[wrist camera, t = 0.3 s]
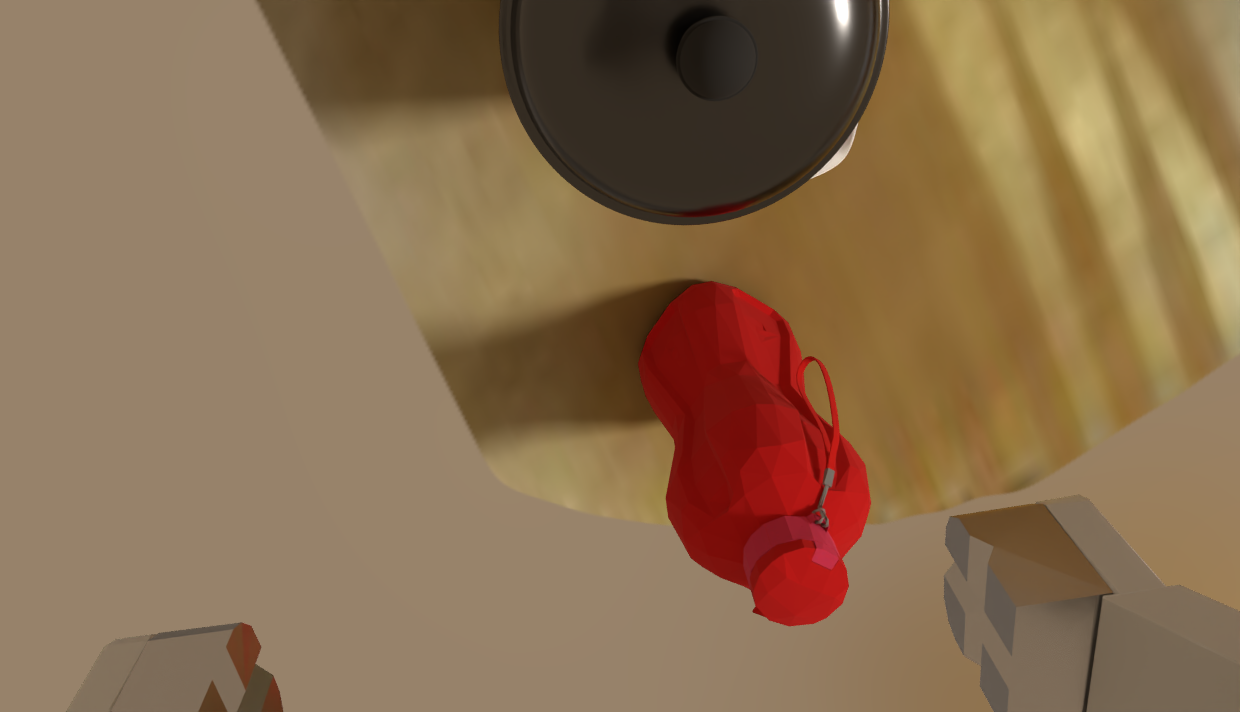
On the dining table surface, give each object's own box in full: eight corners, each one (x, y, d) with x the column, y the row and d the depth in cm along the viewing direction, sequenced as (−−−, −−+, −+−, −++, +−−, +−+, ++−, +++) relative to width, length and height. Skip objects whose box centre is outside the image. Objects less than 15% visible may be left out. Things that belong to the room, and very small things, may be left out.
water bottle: (822, 302, 63) (975, 533, 40) (728, 424, 66) (821, 697, 44) (709, 235, 60) (807, 443, 38) (618, 366, 64) (658, 626, 41)
